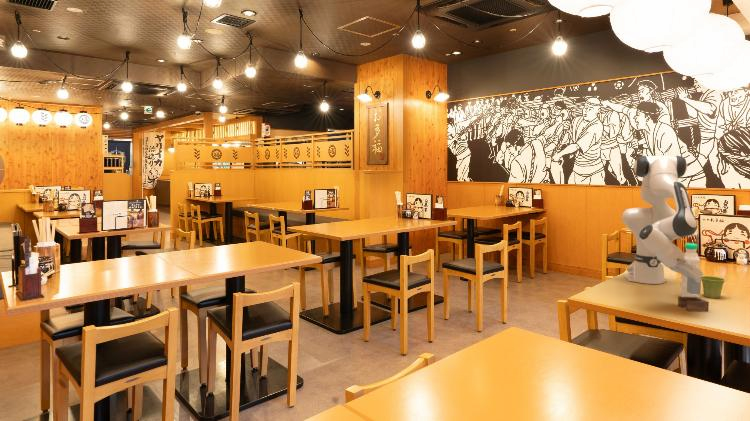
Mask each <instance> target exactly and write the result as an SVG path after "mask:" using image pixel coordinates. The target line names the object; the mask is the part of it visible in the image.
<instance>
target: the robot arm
mask: <svg viewBox="0 0 750 421" xmlns="http://www.w3.org/2000/svg"><path fill="white" fill-rule="evenodd" d="M687 169H688V164H687V160H686V158H685V157H683V156H680V155H668V154H667V155H666V154H661V155H647V156H646V155H641V156H638V157H636V159H635V161H634V163H633V172H634V175H635V176H637V177H639V178H642V180H641V187H640V188H641V190H640V198H641V200H642V201H643V202H645V203H646V204H649V205H651V207H631V208H627V209H625V210H624V211H623V213H622V216H621V220H622V223H623V225H624V226H625V227H627V229H629V230H630V231H631V233H632V234H633V235H634V237H635V243H636V253H635V256H634V261H632V263H630V264H629V266H627V267H626V271H627V273H626V272H625V273H623V276H624V278H625V279H626V280H627V281H628V282H634V283H638V284H647V285H649V284H650V285H660V284H661V285H662V284H664V283H665V282H668V281H667V279H666V278H665V268H664V266H665V267H666V268H668V269H669V270H671V271H673V272H675V273H678V274H680V275H681V274H683V275H684V276H686V277H687V276H688V277H691V278H693V279H694V281H695V282H697V283H700V282H701V283H702V279H700V277H702V276H704V273H703V271H702V270H701V271H700V270H699V269H698V268H697V267H696V266H695V265H694V264H692V263H691V262H689V261H687V260H685V258H684V256H685V254H684V253H685V252H684V251H682V249H680V248H679V247H678V246H677V245H676V244H675V243H673V242H674V240H678V239H681V238H686V237H689V236H693V235H695V233H696V231H697V229H698V221H697V218H696V216H695V215H694V212H693V209H692V205H691V200H690V198H689V194H688V190H687V188H686V187H685V185H684V184H683V182H681V181H679V178H681V177H683V176H684V175H685V174H686V171H687ZM667 199H673V202H674V206H675V209H676V210H675V209H673V208H672V207H671V206H670V205H669V204H668V201H667Z"/></svg>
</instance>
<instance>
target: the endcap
mask: <svg viewBox="0 0 750 421" xmlns="http://www.w3.org/2000/svg"><path fill="white" fill-rule="evenodd" d="M709 305H710V301H708V300H705V299H703V298H702V297H681V296H677V307H678V308H679V307H681V308H682V307H684V308H685V310H686V312H709V309H710V308H709V307H710V306H709Z"/></svg>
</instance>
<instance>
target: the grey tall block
mask: <svg viewBox="0 0 750 421" xmlns="http://www.w3.org/2000/svg"><path fill="white" fill-rule="evenodd" d="M700 271H701V272H702V270H700ZM700 279H701V277H700ZM701 280H702V279H701ZM701 283H702V281H701V282H700V283H697V282H695V281H694V279H693V278H691V277H688V276H687V292H688V293H691V294H699V295H701V287H702V286H701Z"/></svg>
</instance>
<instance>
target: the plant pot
mask: <svg viewBox="0 0 750 421" xmlns="http://www.w3.org/2000/svg"><path fill="white" fill-rule="evenodd" d="M725 282H726V278H723V277H719V276H713V275H703V276H702V277H701V283H702V290H703V296H704V297H708V298H710V299H719V298H721V294H722V289H723V285H724V283H725Z"/></svg>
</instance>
